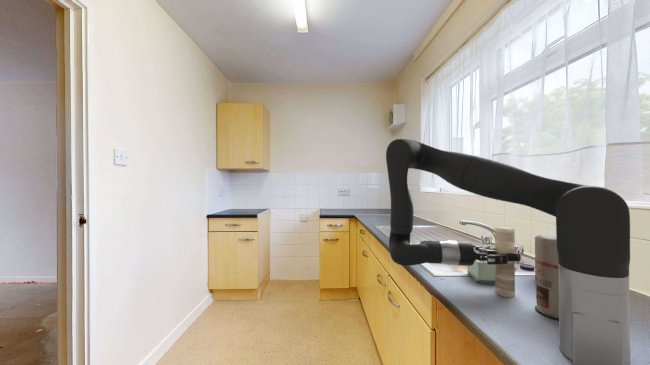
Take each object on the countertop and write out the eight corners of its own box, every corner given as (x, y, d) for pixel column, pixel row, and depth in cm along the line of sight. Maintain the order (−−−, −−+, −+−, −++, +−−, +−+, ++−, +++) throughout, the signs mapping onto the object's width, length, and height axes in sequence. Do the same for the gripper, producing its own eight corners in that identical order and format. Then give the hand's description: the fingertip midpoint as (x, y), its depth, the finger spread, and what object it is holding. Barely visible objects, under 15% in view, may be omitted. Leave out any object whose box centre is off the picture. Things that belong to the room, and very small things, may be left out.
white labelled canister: (531, 303, 69) (531, 232, 70) (571, 310, 65) (571, 235, 65) (538, 317, 62) (538, 237, 62) (584, 326, 58) (583, 241, 58)
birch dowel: (514, 299, 72) (514, 230, 72) (494, 294, 75) (494, 228, 75) (515, 293, 76) (514, 228, 76) (496, 289, 79) (496, 226, 79)
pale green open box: (507, 284, 82) (507, 263, 82) (478, 282, 84) (478, 262, 84) (493, 274, 91) (493, 255, 91) (467, 273, 93) (467, 254, 93)
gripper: (463, 246, 71) (529, 248, 68) (447, 236, 85) (501, 237, 82) (463, 272, 71) (530, 275, 68) (447, 257, 85) (501, 260, 82)
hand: (514, 254), depth 75 cm, fingers closed on birch dowel, 4 cm apart
